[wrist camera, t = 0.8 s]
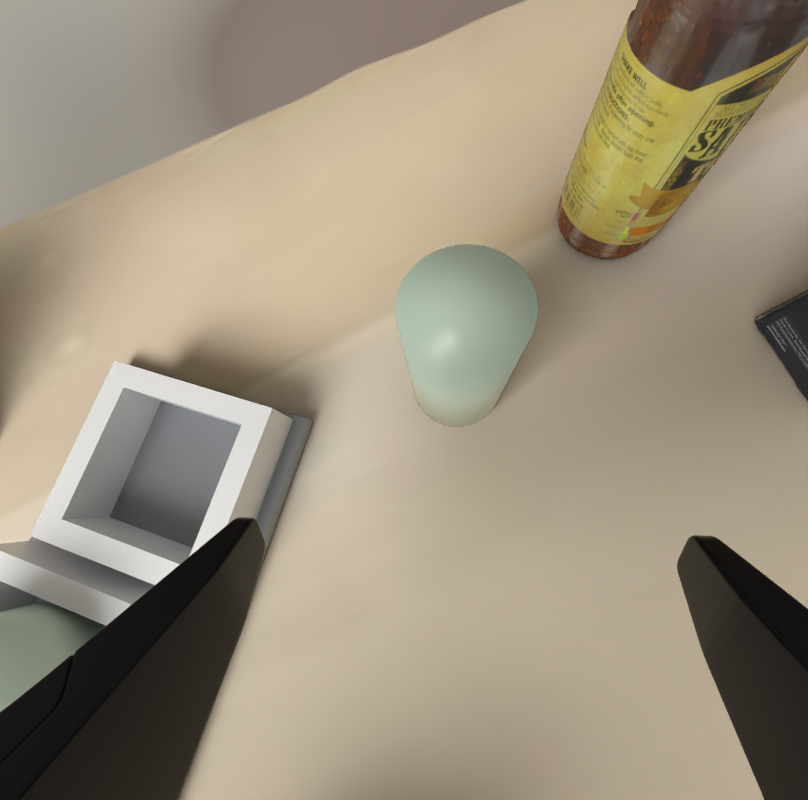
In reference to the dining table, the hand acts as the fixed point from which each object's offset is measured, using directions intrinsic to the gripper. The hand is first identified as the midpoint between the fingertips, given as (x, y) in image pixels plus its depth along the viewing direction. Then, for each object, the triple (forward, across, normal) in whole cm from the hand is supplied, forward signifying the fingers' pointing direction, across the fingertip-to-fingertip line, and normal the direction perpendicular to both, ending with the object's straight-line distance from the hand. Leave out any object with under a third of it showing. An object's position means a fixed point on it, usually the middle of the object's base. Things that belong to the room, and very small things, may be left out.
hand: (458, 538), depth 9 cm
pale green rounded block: (+15, 0, +5) cm, 16 cm away
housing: (+7, +18, +12) cm, 22 cm away
